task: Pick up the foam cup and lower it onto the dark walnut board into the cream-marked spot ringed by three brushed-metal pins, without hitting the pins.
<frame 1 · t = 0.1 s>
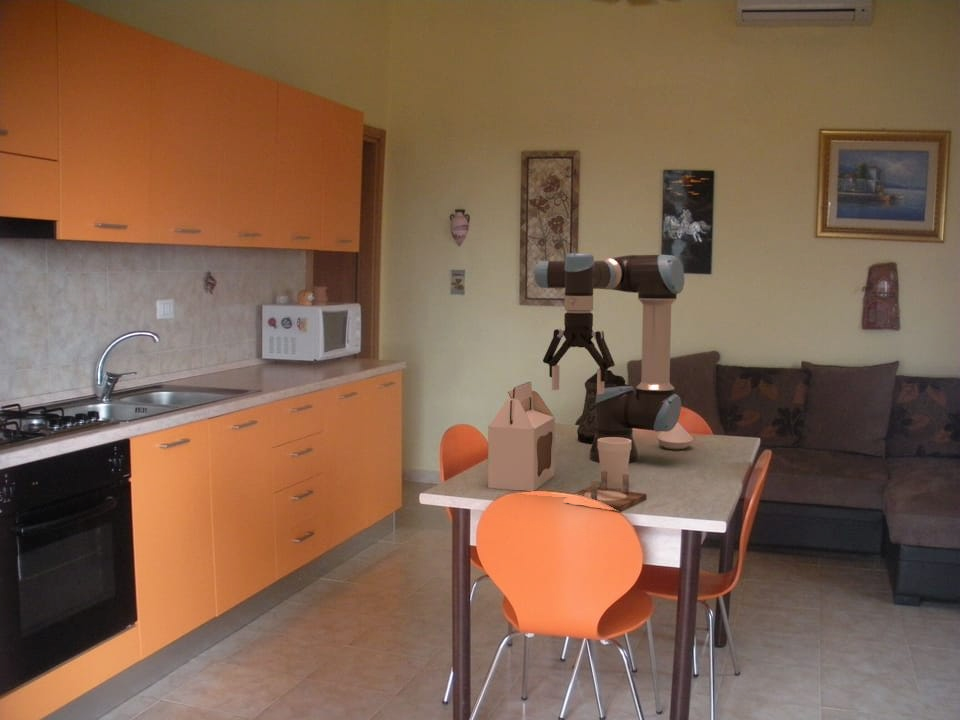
hand: (577, 391, 251), 28 cm above the table, fingers open, 13 cm apart
spoon rest: (673, 446, 326), on the table
foam cup: (613, 486, 264), on the table
gable box: (522, 482, 269), on the table
black backpack: (604, 441, 333), on the table
pin board: (605, 501, 246), on the table
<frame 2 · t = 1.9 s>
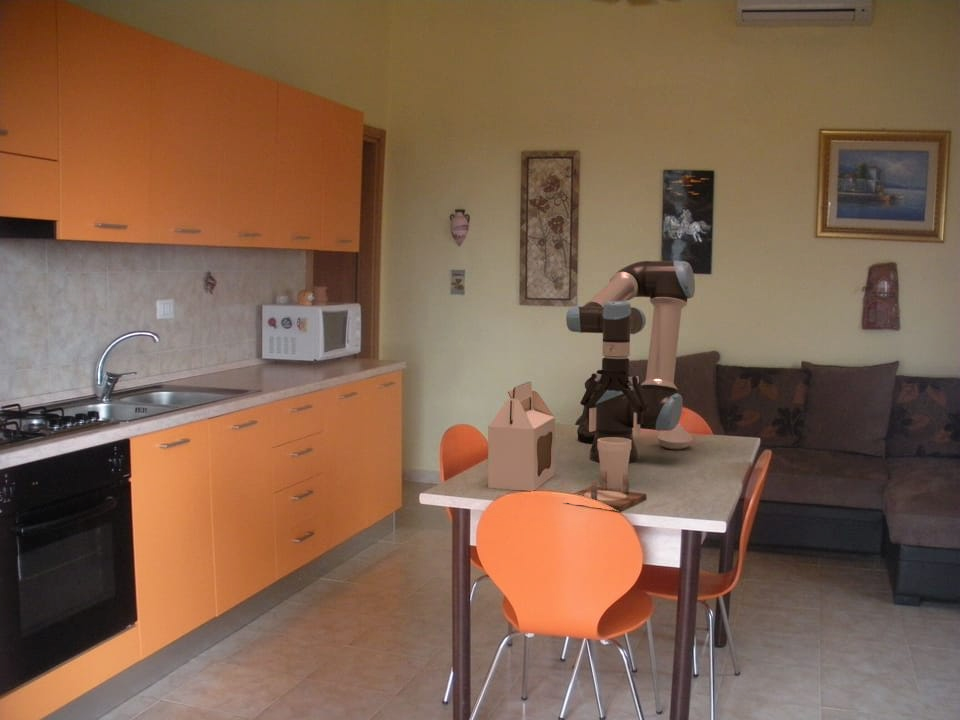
hand: (614, 433, 262), 15 cm above the table, fingers open, 13 cm apart
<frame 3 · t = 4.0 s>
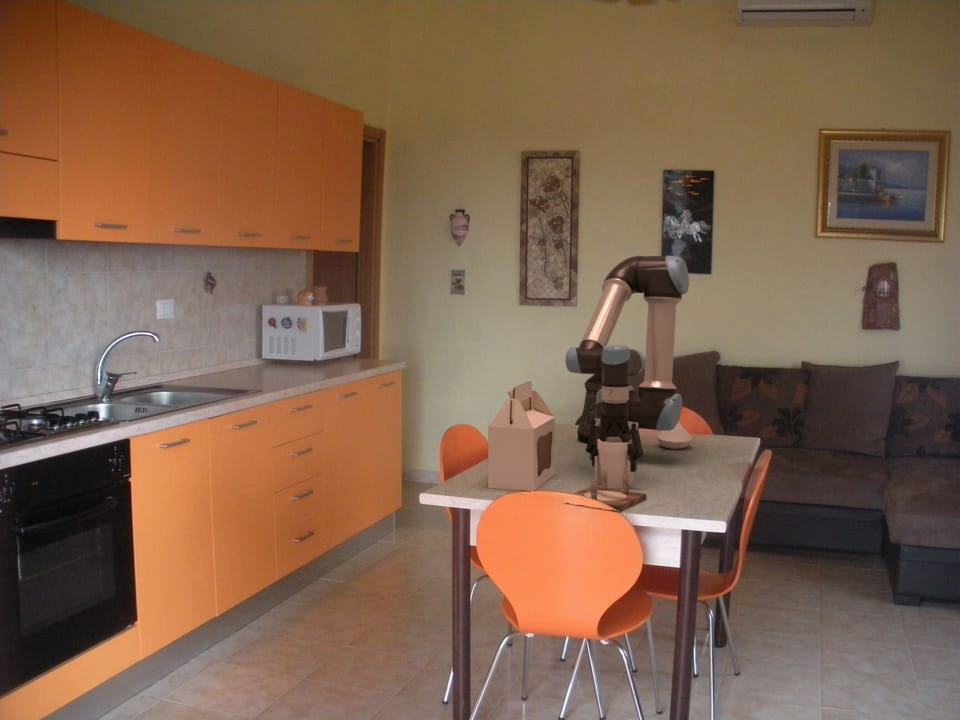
hand: (613, 480, 264), 2 cm above the table, fingers closed on foam cup, 9 cm apart
foam cup: (613, 486, 264), on the table, touching gripper
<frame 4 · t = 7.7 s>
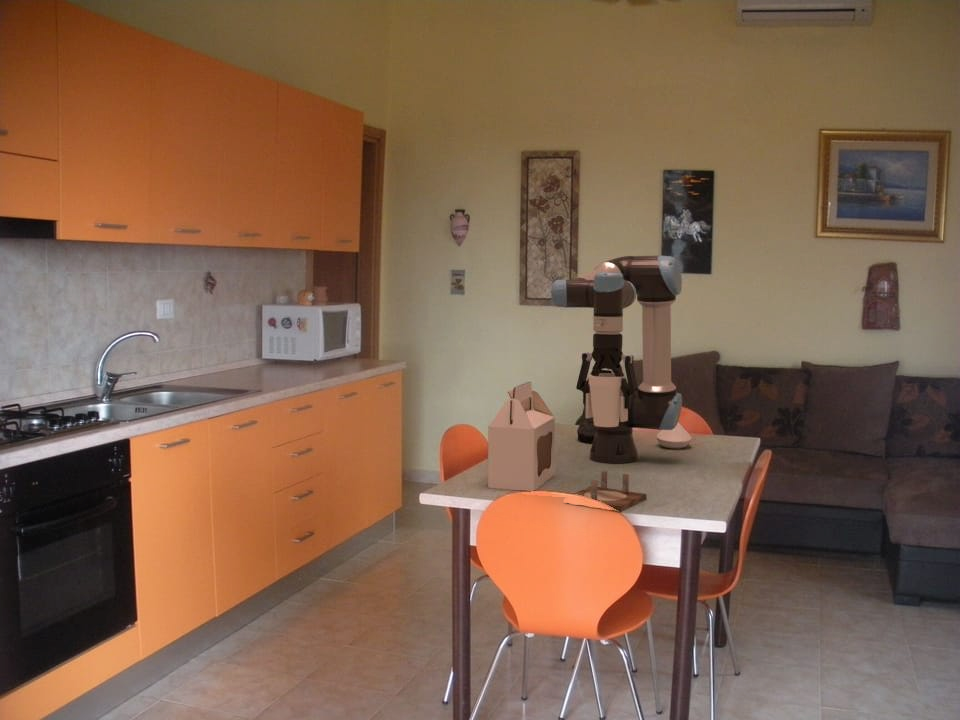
hand: (606, 419, 244), 22 cm above the table, fingers closed on foam cup, 9 cm apart
foam cup: (606, 425, 244), point 20 cm above the table, touching gripper
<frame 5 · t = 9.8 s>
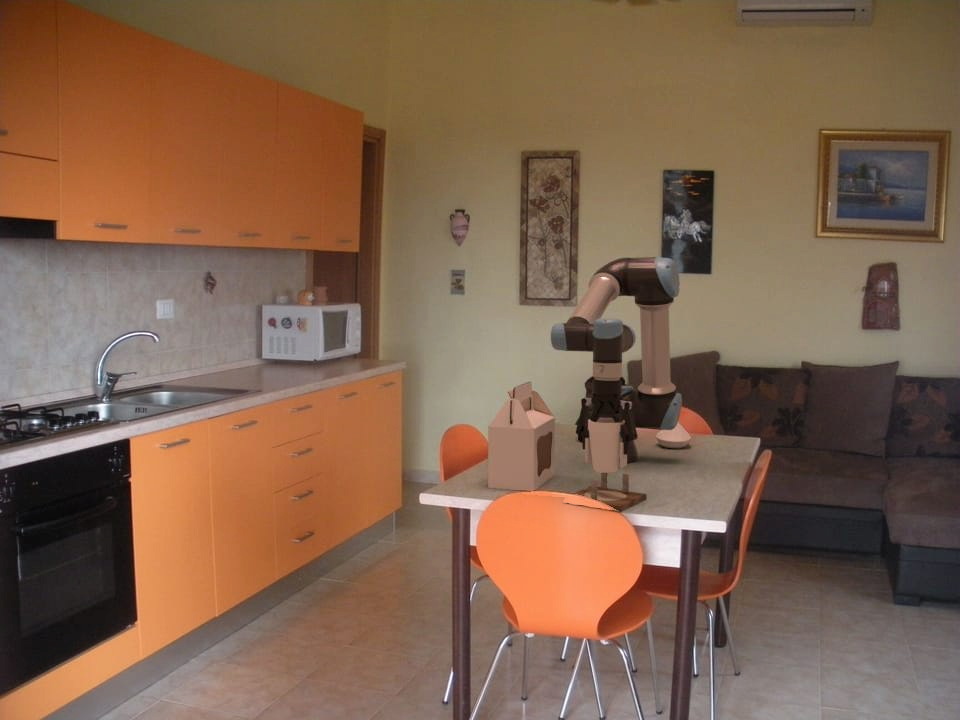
hand: (605, 464, 245), 10 cm above the table, fingers closed on foam cup, 9 cm apart
foam cup: (605, 470, 245), point 8 cm above the table, touching gripper
when the fingers open (5 cm above the table, at t = 11.3 s): foam cup drops 2 cm, resting on pin board.
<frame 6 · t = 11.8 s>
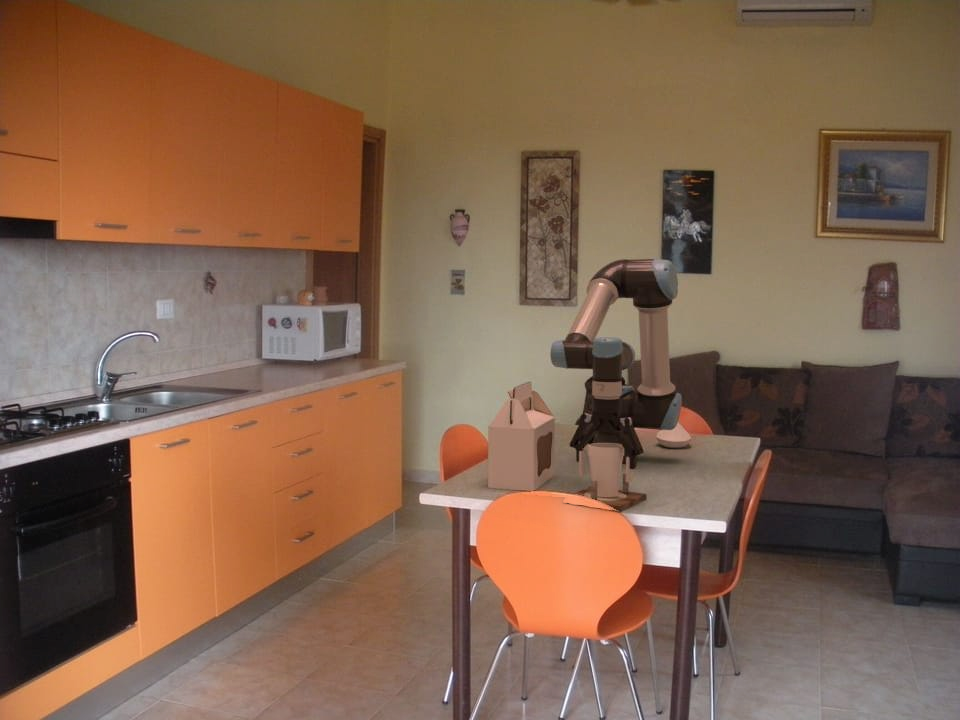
hand: (605, 478, 246), 6 cm above the table, fingers open, 13 cm apart
foam cup: (605, 495, 246), point 2 cm above the table, touching pin board
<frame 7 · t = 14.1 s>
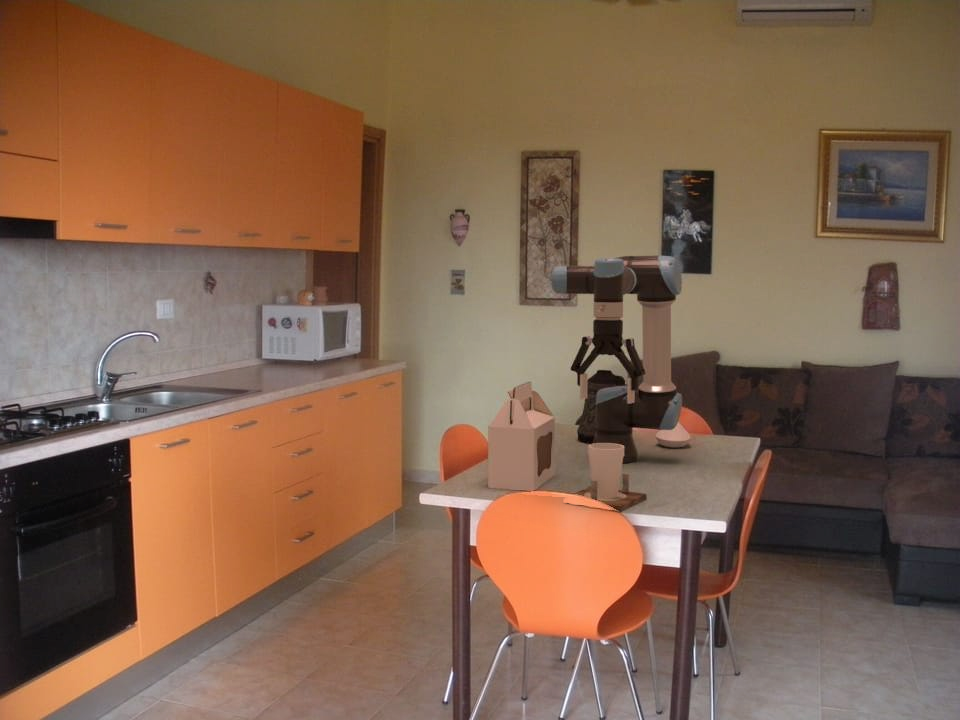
hand: (606, 400, 244), 26 cm above the table, fingers open, 13 cm apart
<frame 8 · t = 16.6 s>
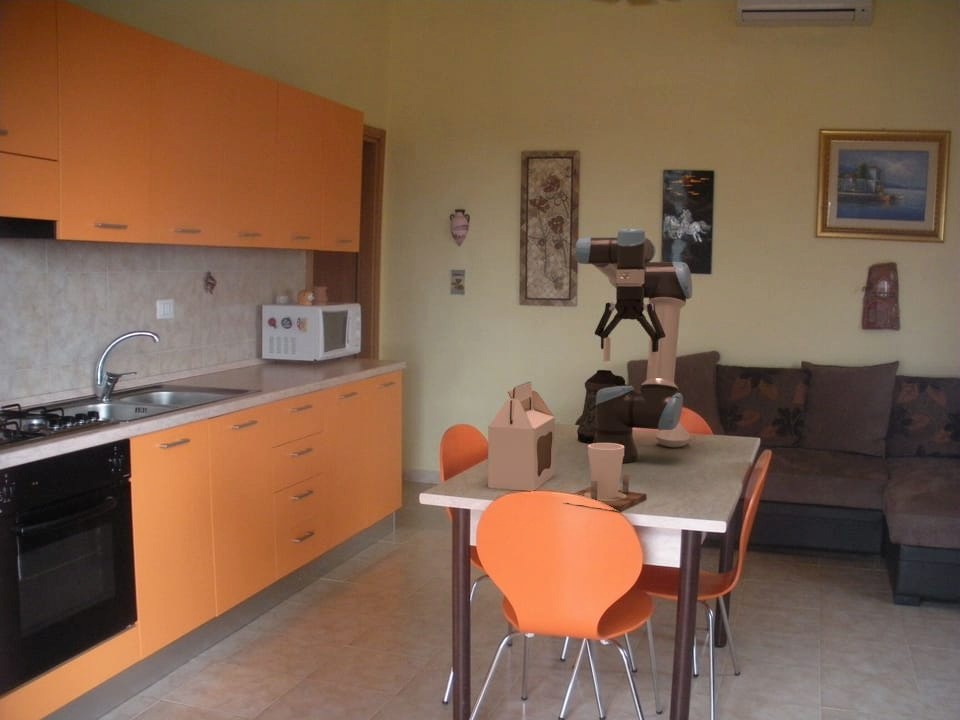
hand: (628, 362, 260), 35 cm above the table, fingers open, 13 cm apart
at the end: foam cup 0.0 cm off-centre on the pin board, point 1.4 cm above the pin board's base; foam cup tilted 0°; the gripper is holding nothing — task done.
